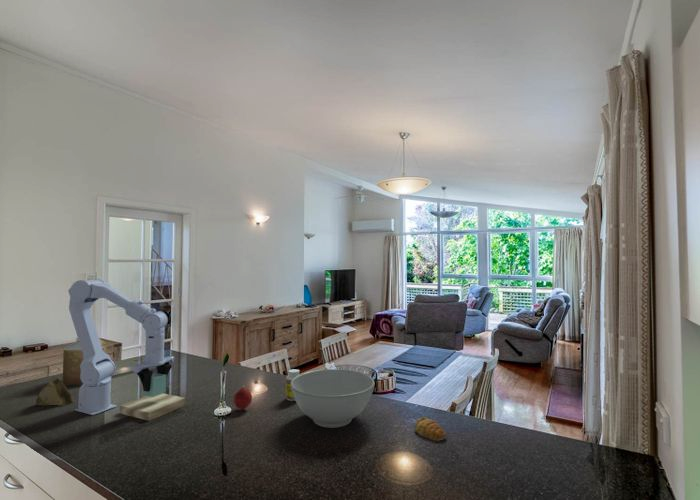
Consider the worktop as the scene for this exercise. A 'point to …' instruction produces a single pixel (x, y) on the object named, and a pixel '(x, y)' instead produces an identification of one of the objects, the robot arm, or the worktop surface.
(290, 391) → the supplement bottle
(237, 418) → the worktop surface
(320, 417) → the decorative bowl
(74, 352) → the tan tall block
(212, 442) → the worktop surface
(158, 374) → the teal block
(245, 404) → the onion
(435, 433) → the pastry
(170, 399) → the birch base board
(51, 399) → the rock
